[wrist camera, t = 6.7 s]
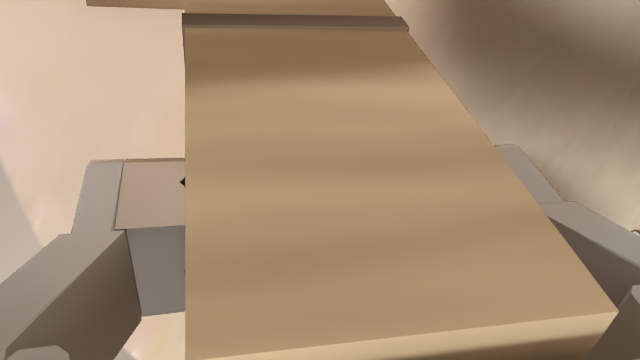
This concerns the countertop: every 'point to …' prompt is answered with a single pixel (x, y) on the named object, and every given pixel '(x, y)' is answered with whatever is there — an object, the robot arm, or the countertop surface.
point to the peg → (357, 202)
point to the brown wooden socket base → (139, 3)
